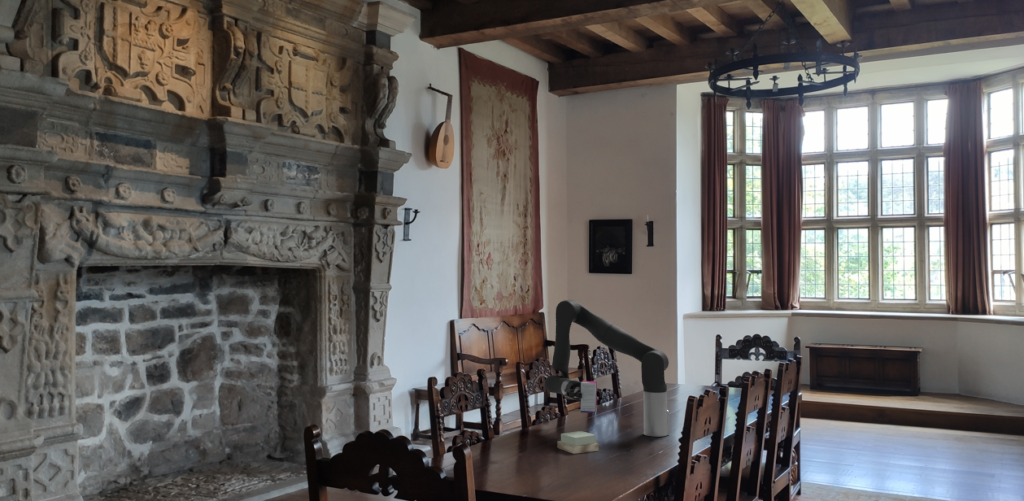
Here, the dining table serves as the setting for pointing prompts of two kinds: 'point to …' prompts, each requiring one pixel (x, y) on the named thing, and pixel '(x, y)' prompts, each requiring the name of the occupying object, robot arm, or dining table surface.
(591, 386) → the supplement box
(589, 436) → the sage top block
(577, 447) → the birch base block
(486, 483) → the dining table surface
